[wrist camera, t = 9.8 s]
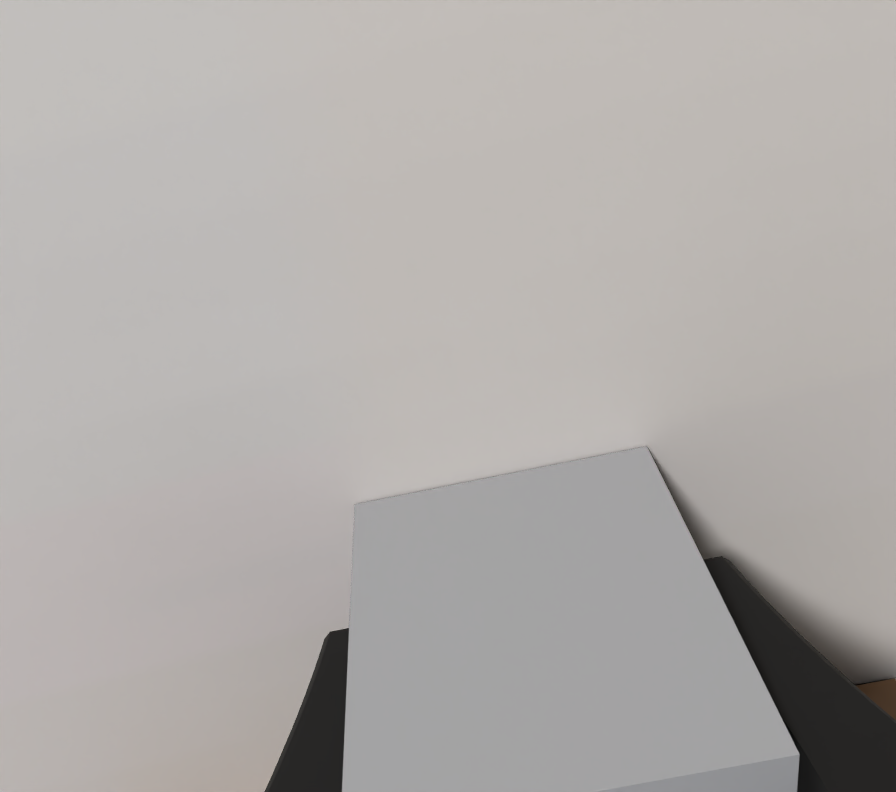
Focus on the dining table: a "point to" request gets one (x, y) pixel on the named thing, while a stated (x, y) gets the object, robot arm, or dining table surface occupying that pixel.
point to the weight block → (549, 644)
